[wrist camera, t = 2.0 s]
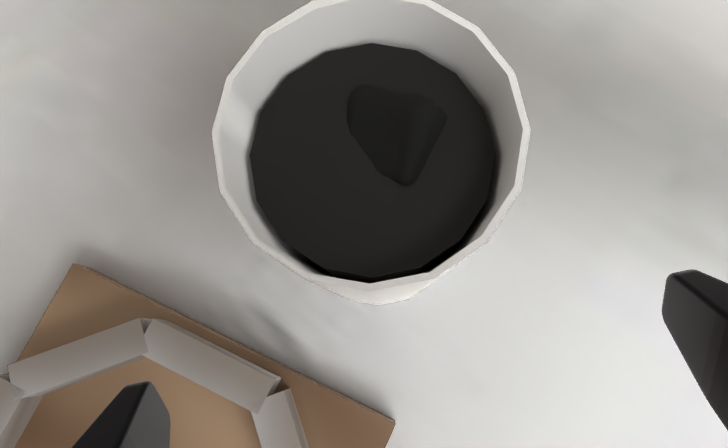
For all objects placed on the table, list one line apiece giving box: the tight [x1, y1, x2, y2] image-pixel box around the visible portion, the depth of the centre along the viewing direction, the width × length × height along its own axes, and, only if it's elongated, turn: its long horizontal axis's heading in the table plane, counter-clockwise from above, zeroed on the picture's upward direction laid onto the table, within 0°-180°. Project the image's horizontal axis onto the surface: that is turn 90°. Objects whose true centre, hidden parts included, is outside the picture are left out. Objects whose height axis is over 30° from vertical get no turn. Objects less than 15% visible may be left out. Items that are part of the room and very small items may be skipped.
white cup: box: [211, 0, 531, 305], centre depth 17 cm, size 7×7×10 cm
